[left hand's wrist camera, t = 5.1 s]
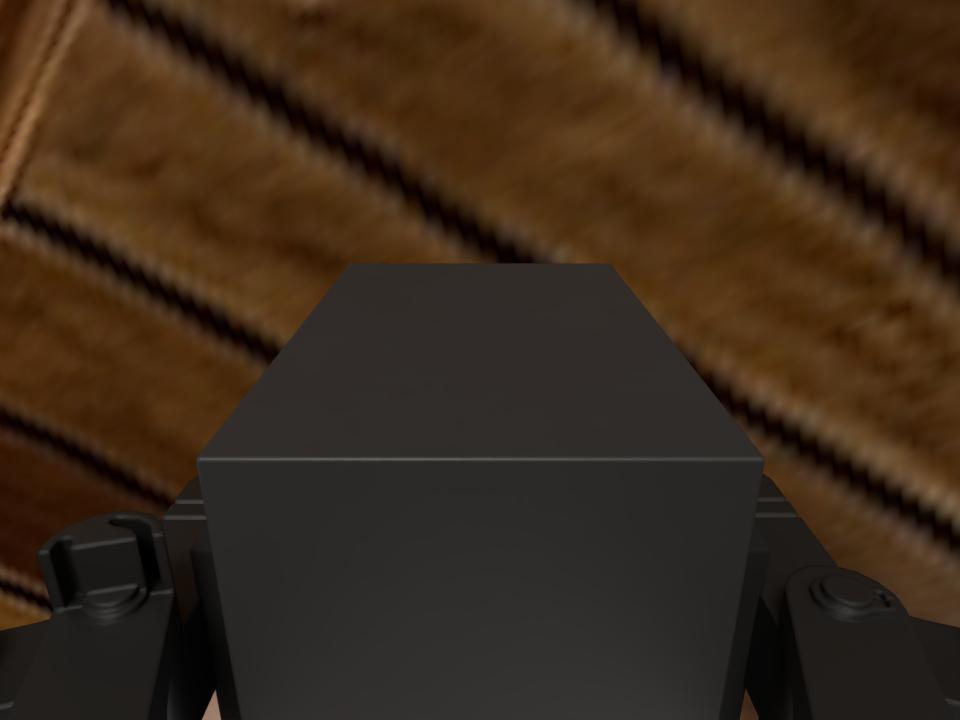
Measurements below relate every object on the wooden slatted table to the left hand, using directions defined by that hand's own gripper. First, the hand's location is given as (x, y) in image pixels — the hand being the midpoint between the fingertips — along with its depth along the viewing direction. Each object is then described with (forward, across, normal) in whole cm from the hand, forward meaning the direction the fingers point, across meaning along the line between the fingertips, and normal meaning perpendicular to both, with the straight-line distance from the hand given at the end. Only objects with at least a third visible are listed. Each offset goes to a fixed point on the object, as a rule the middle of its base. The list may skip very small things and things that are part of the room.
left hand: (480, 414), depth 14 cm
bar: (0, 0, -8) cm, 8 cm away
